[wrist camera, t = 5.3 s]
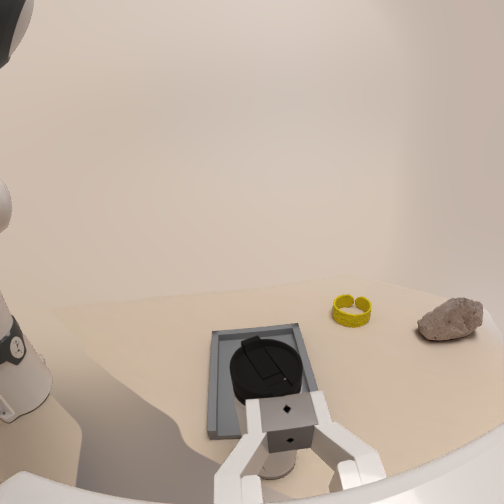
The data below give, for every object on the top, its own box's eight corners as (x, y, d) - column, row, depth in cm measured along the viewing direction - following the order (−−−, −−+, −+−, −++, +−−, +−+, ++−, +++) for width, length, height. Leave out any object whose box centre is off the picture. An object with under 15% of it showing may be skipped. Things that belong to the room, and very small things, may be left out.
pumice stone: (468, 319, 52) (481, 279, 48) (481, 340, 45) (497, 299, 41) (410, 323, 54) (420, 281, 50) (420, 348, 48) (434, 304, 43)
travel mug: (280, 433, 36) (278, 325, 28) (304, 467, 31) (318, 368, 22) (238, 450, 34) (216, 347, 26) (260, 487, 28) (246, 399, 20)
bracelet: (368, 330, 55) (370, 317, 53) (329, 325, 58) (330, 312, 56) (370, 309, 61) (372, 296, 59) (335, 304, 64) (336, 292, 62)
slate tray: (210, 439, 36) (207, 430, 35) (214, 341, 56) (212, 331, 55) (324, 427, 36) (326, 418, 35) (297, 333, 56) (297, 323, 55)
